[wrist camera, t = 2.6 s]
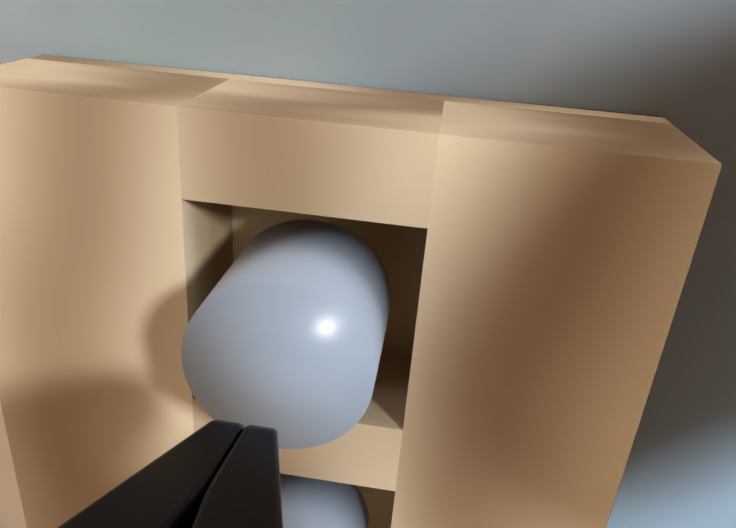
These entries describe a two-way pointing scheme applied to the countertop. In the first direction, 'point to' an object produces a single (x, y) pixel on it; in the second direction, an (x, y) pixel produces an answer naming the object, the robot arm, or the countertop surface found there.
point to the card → (8, 485)
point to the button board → (389, 243)
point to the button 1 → (291, 334)
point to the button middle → (321, 504)
